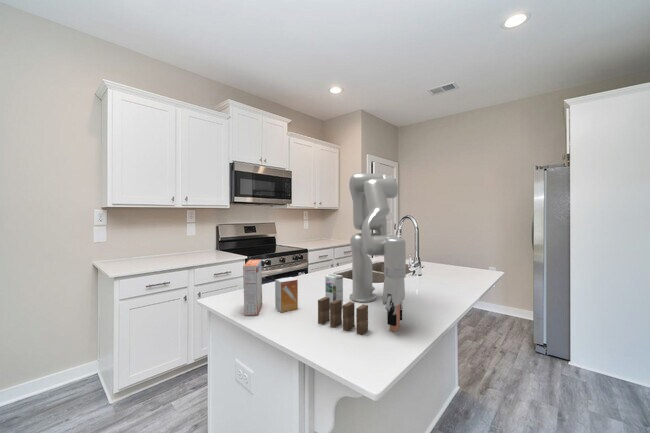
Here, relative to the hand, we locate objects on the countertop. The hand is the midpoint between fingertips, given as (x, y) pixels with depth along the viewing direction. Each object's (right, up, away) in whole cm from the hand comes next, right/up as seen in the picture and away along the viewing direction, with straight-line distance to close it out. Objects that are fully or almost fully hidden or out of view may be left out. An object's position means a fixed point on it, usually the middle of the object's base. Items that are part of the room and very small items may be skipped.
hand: (394, 321), depth 104 cm
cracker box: (-56, -3, +21) cm, 60 cm away
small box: (-42, -3, +22) cm, 47 cm away
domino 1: (-26, -3, +7) cm, 27 cm away
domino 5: (0, -3, 0) cm, 3 cm away
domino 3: (-17, -3, +1) cm, 17 cm away
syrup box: (-21, -2, +22) cm, 31 cm away
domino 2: (-21, -3, +4) cm, 22 cm away
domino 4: (-12, -3, -2) cm, 13 cm away
